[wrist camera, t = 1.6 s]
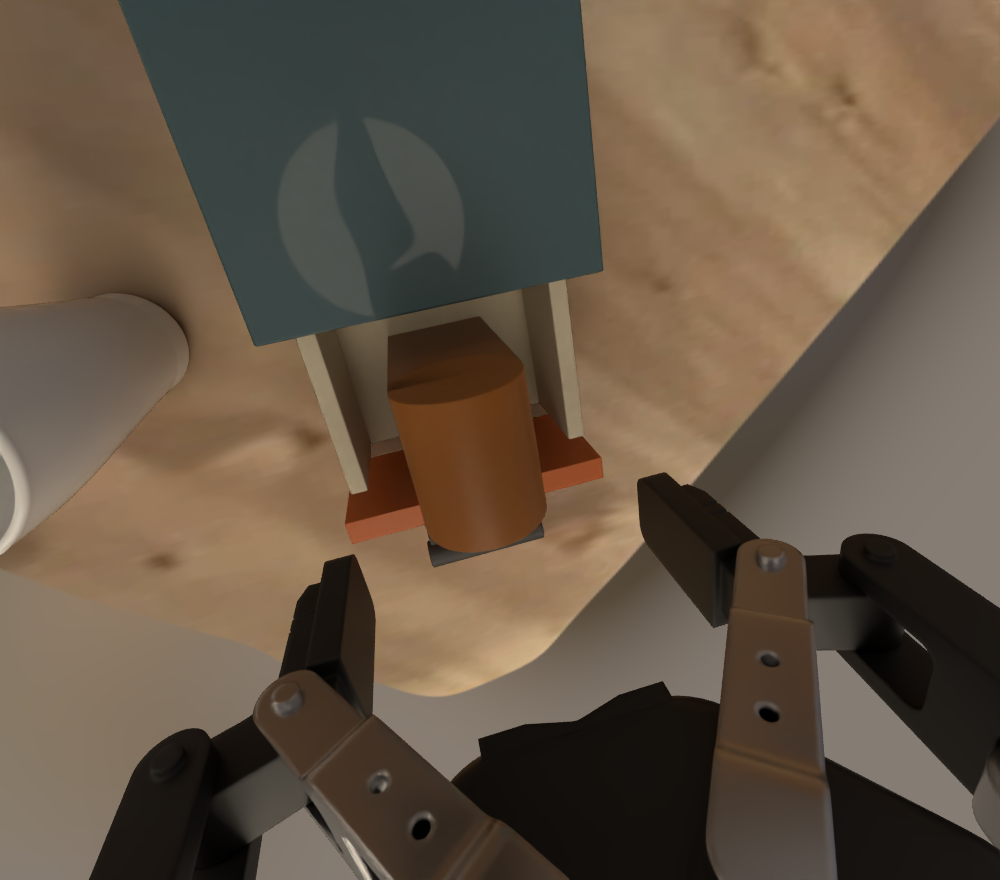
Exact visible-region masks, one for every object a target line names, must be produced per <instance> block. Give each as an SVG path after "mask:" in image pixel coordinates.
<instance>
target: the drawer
mask: <svg viewBox="0 0 1000 880" xmlns="http://www.w3.org/2000/svg"><path fill="white" fill-rule="evenodd" d="M478 316H480V317H481V318H482V319H483V320H484V321H485V322H486V324H487V325H488V326H489V327H490V328H491V329H492V330H493V331H494V332H495V333H496V334H497V335H498V336H499V337H500V339H501V340H502V341H503V342H504V343H505V344H506V345H507V346H508V347H509V348H510V349H511V350H512V351H513V352H514V353H515V355H516V356H517V357H518V358H519V359H520V360H521V361H522V363H523V364H524V368H525V374H526V381H527V387H528V393H529V399H530V405H532V404H536V403H540V404H541V406H542V407H543V408H544V409H545V410H546V412H547V413H548V414H547V415H543V416H539V417H535V418H533V424H534V430H535V436H536V442H537V448H538V454H539V460H540V467H541V473H542V479H543V485H544V491H545V493H547V492H551V491H554V490H558V489H562V488H566V487H569V486H573V485H577V484H581V483H585V482H588V481H592V480H596V479H600V478H603V469H602V459H601V457H600V455H599V454H598V453H597V452H596V451H595V450H594V449H593V448H592V446H591V445H590V444H589V443H588V442H587V441H586V440H585V439H584V438H583V435H584V432H583V424H582V415H581V407H580V398H579V390H578V381H577V372H576V364H575V355H574V347H573V338H572V330H571V321H570V312H569V304H568V295H567V287H566V279H565V280H560V281H556V282H551V283H546V284H542V285H537V286H533V287H528V288H524V289H519V290H514V291H510V292H505V293H501V294H496V295H491V296H487V297H482V298H478V299H473V300H469V301H464V302H459V303H455V304H450V305H446V306H441V307H436V308H432V309H427V310H423V311H418V312H414V313H409V314H404V315H400V316H395V317H391V318H386V319H382V320H377V321H372V322H368V323H363V324H359V325H354V326H349V327H345V328H340V329H336V330H331V331H327V332H322V333H317V334H313V335H308V336H304V337H299V338H296V341H297V344H298V346H299V349H300V352H301V355H302V358H303V360H304V363H305V366H306V369H307V372H308V374H309V377H310V380H311V383H312V386H313V388H314V391H315V394H316V397H317V400H318V402H319V405H320V408H321V411H322V414H323V416H324V419H325V422H326V425H327V428H328V430H329V433H330V436H331V439H332V442H333V444H334V447H335V450H336V453H337V456H338V458H339V461H340V464H341V467H342V470H343V472H344V475H345V478H346V481H347V484H348V486H349V489H350V492H349V499H348V506H347V513H346V520H345V526H346V529H347V531H348V534H349V537H350V539H351V542H352V544H354V543H358V542H362V541H365V540H369V539H373V538H377V537H380V536H384V535H388V534H392V533H396V532H399V531H403V530H407V529H411V528H414V527H418V526H422V525H425V522H424V519H423V515H422V512H421V508H420V505H419V502H418V498H417V495H416V491H415V488H414V484H413V481H412V478H411V474H410V471H409V467H408V464H407V460H406V457H405V454H404V450H401V451H397V452H393V453H389V454H385V455H381V456H377V457H373V458H370V455H371V444H372V443H376V442H380V441H384V440H388V439H392V438H396V437H400V436H399V433H398V430H397V426H396V423H395V419H394V416H393V412H392V409H391V406H390V402H389V399H388V395H387V359H388V336H392V335H397V334H401V333H406V332H410V331H415V330H419V329H424V328H428V327H433V326H437V325H442V324H446V323H451V322H455V321H460V320H464V319H469V318H473V317H478ZM427 533H428V532H427ZM428 536H429V534H428ZM543 537H544V530H543V526H542V522H541V523H540V524H539V526H538V527H537V528H536V529H535V530H534V531H532V532H531V533H530V534H529V535H527V536H526V537H524V538H523V539H521V540H519V541H517V542H515V543H513V544H510V545H508V546H505V547H502V548H499V549H495V550H490V551H484V552H473V553H471V552H457V551H453V550H449V549H446V548H443V547H441V546H440V545H438V544H437V543H435V542H434V541H433V540H432V539H431V538H430V536H429V540H430V541H428V542H427V544H428V550H429V555H430V559H431V562H432V565H433V567H438V566H441V565H445V564H449V563H452V562H456V561H460V560H463V559H467V558H471V557H474V556H478V555H481V554H485V553H489V552H492V551H496V550H500V549H503V548H507V547H511V546H514V545H518V544H522V543H525V542H529V541H532V540H536V539H540V538H543Z"/></svg>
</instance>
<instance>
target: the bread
mask: <svg viewBox="0 0 1000 880" xmlns="http://www.w3.org/2000/svg"><path fill="white" fill-rule="evenodd" d="M387 395H388V399H389V402H390V406H391V409H392V412H393V416H394V419H395V423H396V426H397V430H398V433H399V436H400V440H401V443H402V447H403V450H404V454H405V457H406V460H407V464H408V467H409V471H410V474H411V478H412V481H413V484H414V488H415V491H416V495H417V498H418V502H419V505H420V508H421V512H422V515H423V519H424V522H425V526H426V529H427V532H428V534H429V536H430V538H431V539H432V540H433V541H434V542H435V543H437V544H438V545H440V546H441V547H443V548H446V549H449V550H453V551H457V552H471V553H473V552H484V551H490V550H495V549H499V548H502V547H505V546H508V545H510V544H513V543H515V542H517V541H519V540H521V539H523V538H524V537H526V536H527V535H529V534H530V533H531V532H532V531H534V530H535V529H536V528H537V527H538V526H539V524H540V523H541V522H542V520H543V518H544V516H545V513H546V509H547V504H546V497H545V491H544V485H543V479H542V473H541V467H540V460H539V454H538V448H537V442H536V436H535V430H534V424H533V417H532V411H531V405H530V399H529V393H528V387H527V381H526V374H525V368H524V364H523V363H522V361H521V360H520V359H519V358H518V357H517V356H516V355H515V353H514V352H513V351H512V350H511V349H510V348H509V347H508V346H507V345H506V344H505V343H504V342H503V341H502V340H501V339H500V337H499V336H498V335H497V334H496V333H495V332H494V331H493V330H492V329H491V328H490V327H489V326H488V325H487V324H486V322H485V321H484V320H483V319H482V318H481V317H480V316H478V317H473V318H469V319H464V320H460V321H455V322H451V323H446V324H442V325H437V326H433V327H428V328H424V329H419V330H415V331H410V332H406V333H401V334H397V335H392V336H388V359H387Z"/></svg>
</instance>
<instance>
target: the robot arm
mask: <svg viewBox="0 0 1000 880" xmlns="http://www.w3.org/2000/svg"><path fill="white" fill-rule="evenodd" d="M637 491H638V505H639V519H640V528H641V532H642V535H643V538H644V540H645V542H646V544H647V545H648V546H649V548H650V549H651V550H652V552H653V553H654V554H655V555H656V557H657V558H658V559H659V560H660V562H661V563H662V564H663V565H664V567H665V568H666V569H667V571H668V572H669V573H670V574H671V576H672V577H673V578H674V579H675V581H676V582H677V583H678V584H679V586H680V587H681V588H682V589H683V591H684V592H685V593H686V594H687V596H688V597H689V598H690V599H691V600H692V602H693V603H694V604H695V606H696V607H697V608H698V609H699V611H700V612H701V613H702V614H703V616H704V617H705V618H706V620H707V621H708V622H709V623H710V624H711V626H712V627H713V628H715V627H718V626H722V625H725V624H728V630H727V641H726V650H725V660H724V670H723V680H722V690H721V700H720V704H718V703H716V702H713V701H709V700H705V699H702V698H695V697H690V696H671V694H670V693H669V691H668V689H667V687H666V686H665V684H664V682H663V681H662V682H659V683H655V684H653V685H649V686H646V687H643V688H639V689H636V690H633V691H630V692H627V693H624V694H620V695H618V696H617V697H615V698H613V699H612V700H610V701H608V702H607V703H605V704H604V705H602V706H600V707H599V708H598V709H596V710H594V711H592V712H591V713H590V714H588V715H586V716H584V717H583V718H581V719H579V720H577V721H572V722H557V723H540V724H525V725H521V726H518V727H515V728H512V729H509V730H505V731H502V732H500V733H496V734H493V735H490V736H486V737H483V738H480V739H478V741H479V746H480V752H481V756H480V757H478V758H477V759H475V760H474V761H472V762H471V763H470V764H468V765H467V766H466V767H465V768H463V769H462V770H461V771H460V772H459V773H458V774H457V775H456V776H455V777H454V778H453V780H452V781H451V782H450V781H449V780H447V779H446V778H445V777H444V776H443V775H442V774H441V773H440V772H438V771H437V770H436V769H435V768H434V767H433V766H432V765H430V763H428V762H427V761H426V760H425V759H424V758H423V757H422V756H421V755H419V754H418V753H417V752H416V751H415V750H414V749H413V748H411V746H409V745H408V744H407V743H406V742H405V741H404V740H403V739H402V738H400V737H399V736H398V735H397V734H396V733H395V732H394V731H393V730H391V729H390V728H389V727H388V726H387V725H386V724H385V723H384V722H383V721H381V720H380V719H379V718H378V717H376V716H375V715H373V714H372V711H373V682H374V653H375V624H376V619H375V610H374V605H373V601H372V598H371V595H370V593H369V590H368V587H367V585H366V582H365V579H364V577H363V574H362V571H361V568H360V566H359V563H358V561H357V558H356V557H355V555H354V554H352V555H348V556H345V557H341V558H337V559H333V560H330V561H326V562H325V563H324V567H323V573H322V578H321V583H317V584H313V585H310V586H308V587H307V589H306V590H305V591H304V593H303V594H302V596H301V597H300V598H299V600H298V601H297V604H296V608H295V612H294V617H293V618H294V620H293V621H292V625H291V629H290V631H291V633H289V637H288V641H287V645H286V649H285V654H284V658H283V662H282V666H281V670H280V674H279V678H278V679H277V680H276V681H274V682H273V683H272V684H271V685H269V686H268V687H267V688H266V689H265V691H263V693H262V694H261V695H260V697H259V698H258V700H257V702H256V704H255V706H254V710H253V714H252V715H251V716H250V717H248V718H247V719H245V720H243V721H242V722H240V723H238V724H237V725H235V726H233V727H231V728H229V729H228V730H226V731H224V732H222V733H221V734H219V735H217V736H215V737H213V738H212V739H210V737H209V736H208V734H207V733H206V732H205V731H204V730H201V729H197V728H196V729H195V728H191V729H186V730H182V731H179V732H177V733H175V734H173V735H171V736H169V737H167V738H166V739H164V740H163V741H161V742H160V743H159V744H157V745H156V746H155V747H154V748H152V749H151V750H150V751H149V752H148V753H147V754H146V755H145V756H144V758H143V759H142V760H141V761H140V762H139V764H138V765H137V767H136V768H135V770H134V772H133V774H132V776H131V778H130V781H129V783H128V785H127V788H126V791H125V793H124V795H123V798H122V800H121V803H120V805H119V808H118V810H117V812H116V815H115V817H114V820H113V822H112V825H111V827H110V830H109V832H108V834H107V837H106V839H105V842H104V844H103V847H102V849H101V852H100V854H99V856H98V859H97V862H96V864H95V866H94V869H93V871H92V874H91V876H90V878H89V880H256V873H257V867H258V860H259V854H260V847H261V841H262V834H263V833H265V832H266V831H268V830H269V829H271V828H273V827H274V826H275V825H277V824H279V823H280V822H282V821H283V820H285V819H286V818H288V817H289V816H291V815H292V814H294V813H295V812H297V811H298V810H300V809H301V808H303V807H304V808H305V809H306V811H307V812H308V813H309V815H310V816H311V817H312V819H313V820H314V821H315V823H316V824H317V825H318V826H319V828H320V829H321V830H322V832H323V833H324V834H325V835H326V837H327V838H328V840H329V841H330V842H331V843H332V845H333V846H334V847H335V849H336V850H337V851H338V853H339V854H340V855H341V856H342V858H343V859H344V860H345V862H346V863H347V864H348V866H349V867H350V869H351V870H352V871H353V873H354V874H355V876H356V877H357V878H358V880H1000V608H999V607H997V606H996V605H994V604H993V603H991V602H990V601H989V600H987V599H985V598H984V597H982V596H981V595H980V594H978V593H977V592H975V591H974V590H972V589H971V588H969V587H968V586H966V585H965V584H964V583H962V582H961V581H959V580H958V579H956V578H955V577H953V576H952V575H950V574H949V573H948V572H946V571H945V570H943V569H942V568H940V567H939V566H937V565H936V564H934V563H933V562H931V561H930V560H928V559H927V558H926V557H924V556H923V555H921V554H920V553H918V552H917V551H915V550H914V549H912V548H911V547H909V546H908V545H906V544H905V543H903V542H901V541H898V540H896V539H893V538H891V537H887V536H883V535H878V534H857V535H853V536H850V537H848V538H846V539H845V540H844V541H843V542H842V545H841V550H840V554H838V555H837V554H836V555H814V556H803V555H802V553H801V552H800V551H799V550H797V549H796V548H795V547H793V546H791V545H789V544H787V543H784V542H782V541H778V540H773V539H760V538H759V537H758V536H757V535H755V534H754V533H753V532H752V531H751V530H750V529H748V528H747V527H746V526H745V525H743V523H741V522H740V521H739V520H738V519H737V518H736V517H734V516H733V515H732V514H731V513H730V512H727V511H726V509H725V508H724V507H723V506H721V505H720V504H719V503H718V504H717V501H716V500H714V499H713V498H712V497H711V496H710V495H709V494H707V493H706V492H705V491H703V490H701V489H698V488H696V487H693V486H691V485H688V484H686V485H683V486H680V485H679V484H678V483H677V482H676V481H675V480H674V479H673V478H672V477H670V476H669V475H668V474H667V473H665V472H663V473H659V474H656V475H652V476H648V477H644V478H641V479H639V480H638V482H637ZM904 629H906V630H907V631H908V632H909V633H911V634H912V635H913V636H914V637H915V638H916V639H918V640H919V641H920V642H921V643H922V644H923V645H924V646H925V648H926V649H927V650H928V651H927V650H925V649H924V648H923V647H922V646H921V645H920V644H918V643H917V642H916V641H915V640H914V639H912V637H910V636H909V635H908V634H907V633H906V632H905V631H904ZM816 650H836V651H837V652H838V653H839V654H840V655H841V656H842V657H843V658H844V660H845V661H846V662H847V663H848V664H849V665H850V666H851V667H852V668H853V669H854V670H855V671H856V672H857V673H858V674H859V675H860V676H861V677H862V679H864V681H865V682H866V683H867V684H868V685H869V686H870V687H871V688H872V689H873V690H874V691H875V692H876V693H877V694H878V695H879V697H880V698H881V699H882V700H883V701H884V702H885V703H886V704H887V705H888V706H889V707H890V708H891V709H892V710H893V711H894V712H895V713H896V714H897V715H898V716H899V718H900V719H901V720H902V721H903V722H904V723H905V724H906V725H907V726H908V727H909V728H910V729H911V730H912V731H913V732H914V733H915V735H916V736H917V737H918V738H919V739H920V740H921V741H922V742H923V743H924V744H925V745H926V746H927V747H928V748H929V749H930V750H931V751H932V752H933V754H934V755H935V756H936V757H937V758H938V759H939V760H940V761H941V762H942V763H943V764H944V765H945V766H946V767H947V768H948V769H949V770H950V772H951V773H952V774H953V775H954V776H955V777H956V778H957V779H958V780H959V781H960V782H961V783H962V784H963V785H964V786H965V787H966V788H967V789H968V790H969V792H970V793H971V794H972V795H973V799H972V808H973V813H974V816H975V818H976V821H977V822H978V824H979V826H980V827H981V829H982V831H983V832H984V833H985V835H986V836H987V837H988V839H989V840H990V841H991V842H992V844H993V845H994V846H993V845H991V844H990V843H989V842H987V841H986V840H984V839H982V838H981V837H979V836H977V835H975V834H973V833H972V832H970V831H968V830H966V829H964V828H962V827H960V826H958V825H956V824H954V823H953V822H951V821H949V820H946V819H945V818H943V817H941V816H939V815H937V814H935V813H933V812H931V811H929V810H927V809H925V808H923V807H921V806H920V805H917V804H915V803H914V802H912V801H910V800H908V799H906V798H904V797H902V796H900V795H897V794H896V793H894V792H892V791H890V790H888V789H886V788H884V787H883V786H881V785H879V784H877V783H875V782H873V781H870V780H869V779H867V778H865V777H863V776H861V775H859V774H857V773H855V772H853V771H851V770H849V769H847V768H846V767H843V766H842V765H840V764H838V763H836V762H834V761H832V760H830V759H828V758H826V757H824V745H823V732H822V720H821V708H820V695H819V681H818V669H817V655H816Z"/></svg>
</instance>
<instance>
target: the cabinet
mask: <svg viewBox="0 0 1000 880" xmlns="http://www.w3.org/2000/svg"><path fill="white" fill-rule="evenodd" d="M118 1H119V4H120V6H121V9H122V11H123V14H124V16H125V19H126V22H127V24H128V27H129V29H130V32H131V34H132V37H133V39H134V42H135V44H136V47H137V49H138V52H139V54H140V57H141V60H142V62H143V65H144V67H145V70H146V72H147V75H148V77H149V80H150V82H151V85H152V87H153V90H154V92H155V95H156V98H157V100H158V103H159V105H160V108H161V110H162V113H163V115H164V118H165V120H166V123H167V125H168V128H169V130H170V133H171V136H172V138H173V141H174V143H175V146H176V148H177V151H178V153H179V156H180V158H181V161H182V163H183V166H184V168H185V171H186V174H187V176H188V179H189V181H190V184H191V186H192V189H193V191H194V194H195V196H196V199H197V201H198V204H199V206H200V209H201V211H202V214H203V217H204V219H205V222H206V224H207V227H208V229H209V232H210V234H211V237H212V239H213V242H214V244H215V247H216V249H217V252H218V255H219V257H220V260H221V262H222V265H223V267H224V270H225V272H226V275H227V277H228V280H229V282H230V285H231V287H232V290H233V293H234V295H235V298H236V300H237V303H238V305H239V308H240V310H241V313H242V315H243V318H244V320H245V323H246V325H247V328H248V331H249V333H250V336H251V338H252V341H253V343H254V345H255V346H257V347H258V346H262V345H267V344H272V343H276V342H281V341H285V340H290V339H294V338H299V337H304V336H308V335H313V334H317V333H322V332H327V331H331V330H336V329H340V328H345V327H349V326H354V325H359V324H363V323H368V322H372V321H377V320H382V319H386V318H391V317H395V316H400V315H404V314H409V313H414V312H418V311H423V310H427V309H432V308H436V307H441V306H446V305H450V304H455V303H459V302H464V301H469V300H473V299H478V298H482V297H487V296H491V295H496V294H501V293H505V292H510V291H514V290H519V289H524V288H528V287H533V286H537V285H542V284H546V283H551V282H556V281H560V280H565V279H569V278H574V277H579V276H583V275H588V274H592V273H597V272H601V271H603V261H602V250H601V238H600V226H599V214H598V203H597V191H596V179H595V167H594V156H593V144H592V132H591V120H590V109H589V97H588V85H587V73H586V62H585V50H584V38H583V27H582V15H581V3H580V0H118Z"/></svg>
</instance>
